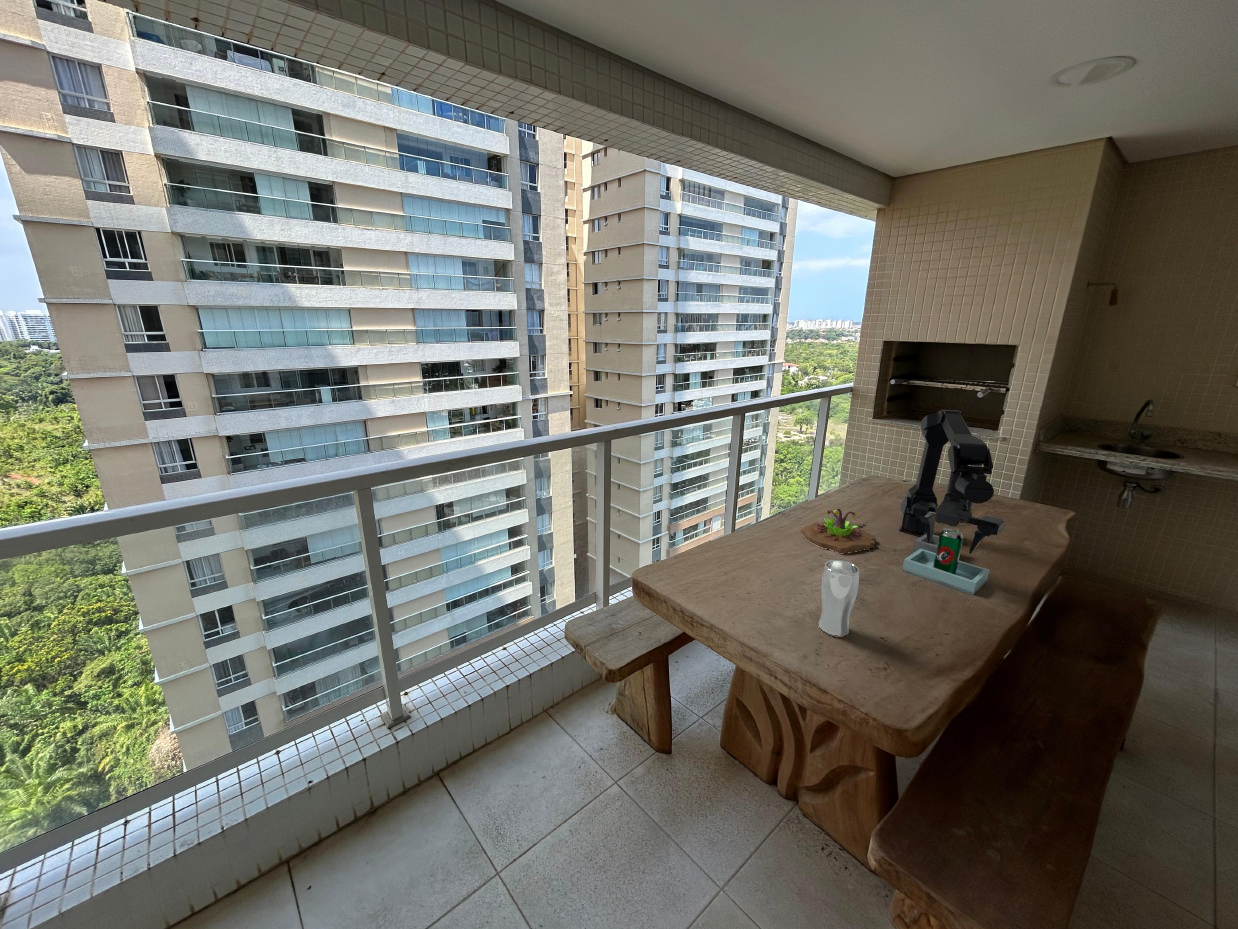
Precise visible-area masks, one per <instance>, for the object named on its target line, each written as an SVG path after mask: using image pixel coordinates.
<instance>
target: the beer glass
mask: <svg viewBox="0 0 1238 929" xmlns="http://www.w3.org/2000/svg"><path fill="white" fill-rule="evenodd" d="M823 568H824V569H823V571H822V577H821V584H820V590H821V591H820V594H821V615H820V619H819V621H818V624H819V626H818V628H819V627H820V628H821V629H822V630H823V631H825V632H827V633H829V634H832V635H838V636H840V635H847V634H848V633H849V634H850V624H849V621H850V620H849V619H850V615H851V612H852V610H853V607H854V605H855V603H856V602H855V601H856V600H857V595H858V591H859V582H860V581H859V579H860V568H859V567H858V566H857V565H855V564H854V563H851V562H849V561H846V560H841V559H829V560H827V561H826V562H825V563H824V567H823ZM849 634H848V635H849ZM848 635H847V636H848Z"/></svg>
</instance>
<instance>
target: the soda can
mask: <svg viewBox="0 0 1238 929" xmlns="http://www.w3.org/2000/svg"><path fill="white" fill-rule="evenodd" d="M938 536H939V540H938V545H937V550H936V555H935V560H934V565H933V568H936V569H939V570H942V571H945V572H948V573H951V574H954V575H955V574H956V571H957V566H958V562H959V561H960V557H961V556H960V555H961V551H962V547H963V543H964V538H965V537H964V535H963V532H962V531H960V530H959V529H955V528H948V527H945V528H942V529H941V531H940V532H939V535H938Z"/></svg>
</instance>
